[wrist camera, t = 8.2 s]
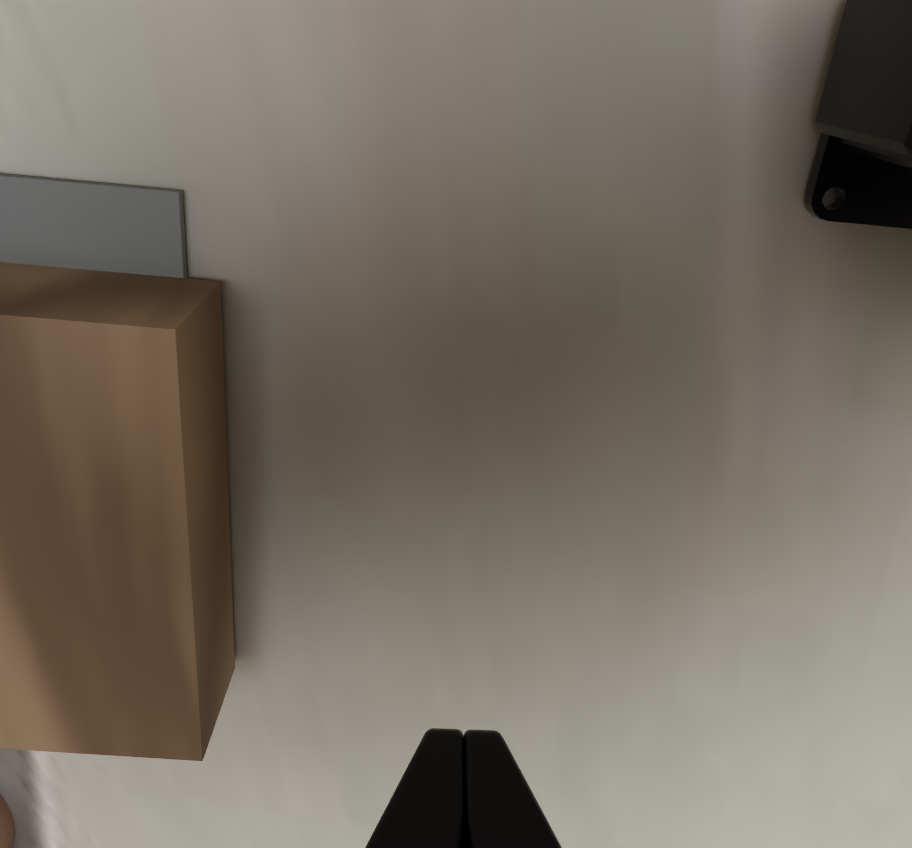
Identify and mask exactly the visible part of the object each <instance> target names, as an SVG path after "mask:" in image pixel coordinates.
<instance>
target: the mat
mask: <svg viewBox="0 0 912 848" xmlns="http://www.w3.org/2000/svg"><path fill="white" fill-rule="evenodd" d="M0 262H5V263H16V264H28V265H39V266H51V267H62V268H73V269H85V270H96V271H108V272H119V273H131V274H142V275H154V276H165V277H176V278H187V261H186V243H185V225H184V206H183V190H178V189H167V188H156V187H145V186H134V185H123V184H112V183H101V182H90V181H80V180H69V179H58V178H47V177H36V176H25V175H14V174H3V173H0Z"/></svg>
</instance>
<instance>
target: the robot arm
mask: <svg viewBox="0 0 912 848" xmlns="http://www.w3.org/2000/svg"><path fill="white" fill-rule="evenodd" d="M816 123H817V125H818V126H819V128H820V130H821V131H822V133H821V137H820V141H819V144H818V148H817V152H816V155H815V159H814V163H813V166H812V170H811V174H810V177H809V181H808V185H807V188H806V192H805V201H804V202H805V205H806V208H807V210H808V211H809V212H810V213H811V214H812V215H814V216H816V217H818V218H820V219H823V220H826V221H834V222H845V223H856V224H867V225H877V226H888V227H899V228H909V229H912V0H847V4H846V7H845V11H844V15H843V19H842V22H841V26H840V30H839V33H838V37H837V41H836V45H835V48H834V52H833V56H832V60H831V63H830V67H829V71H828V75H827V78H826V82H825V86H824V90H823V93H822V97H821V101H820V105H819V108H818V112H817V116H816ZM832 187H836V188H837V190H838V196H837V198H836V200H835V202H834V203H832V204H831V205H830V206H825V207H824V205H823V204H822V201H823V196H824V194H825V192H826V191H827V190H829V189H830V188H832ZM366 848H562V847H561V845H560V844H559V842H558V840H557V838H556V836H555V834H554V832H553V830H552V829H551V827H550V825H549V823H548V821H547V819H546V817H545V815H544V814H543V812H542V810H541V808H540V806H539V804H538V802H537V800H536V799H535V797H534V795H533V793H532V791H531V789H530V787H529V785H528V784H527V782H526V780H525V778H524V776H523V774H522V772H521V770H520V769H519V767H518V765H517V763H516V761H515V759H514V757H513V755H512V754H511V752H510V750H509V748H508V746H507V744H506V742H505V741H504V739H503V737H502V736H501V734H500V733H499V732H497V731H490V730H468V731H466V732H465V734H464V736H463V734H462V732H461V731H460V730H458V729H436V728H433V729H429V730H428V731H427V732H426V733H425V735H424V736H423V738H422V740H421V742H420V744H419V746H418V748H417V750H416V752H415V754H414V756H413V757H412V759H411V761H410V763H409V765H408V767H407V769H406V771H405V773H404V775H403V777H402V779H401V780H400V782H399V784H398V786H397V788H396V790H395V792H394V794H393V796H392V798H391V800H390V802H389V804H388V805H387V807H386V809H385V811H384V813H383V815H382V817H381V819H380V821H379V823H378V825H377V827H376V828H375V830H374V832H373V834H372V836H371V838H370V840H369V842H368V844H367V846H366Z"/></svg>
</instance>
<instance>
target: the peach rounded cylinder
mask: <svg viewBox="0 0 912 848" xmlns="http://www.w3.org/2000/svg"><path fill="white" fill-rule="evenodd" d="M14 839H15V825H14V820H13V817H12V814H11V811H10V809H9V807H8V805H7V803H6V802H5V801H4V799H3V798H2V796H1V795H0V848H12V846H13V843H14Z"/></svg>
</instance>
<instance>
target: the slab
mask: <svg viewBox="0 0 912 848" xmlns="http://www.w3.org/2000/svg"><path fill="white" fill-rule="evenodd" d="M234 668H235V657H234V629H233V601H232V574H231V546H230V518H229V491H228V463H227V436H226V408H225V380H224V353H223V325H222V297H221V281H211V280H199V279H188V278H176V277H165V276H154V275H142V274H131V273H119V272H108V271H96V270H85V269H73V268H62V267H51V266H39V265H28V264H16V263H5V262H0V748H3V749H19V750H35V751H51V752H67V753H83V754H99V755H115V756H131V757H147V758H163V759H179V760H195V761H203V758H204V755H205V752H206V749H207V746H208V743H209V741H210V738H211V735H212V732H213V729H214V726H215V723H216V720H217V717H218V715H219V712H220V709H221V706H222V703H223V700H224V697H225V694H226V691H227V689H228V686H229V683H230V680H231V677H232V674H233V671H234Z"/></svg>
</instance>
